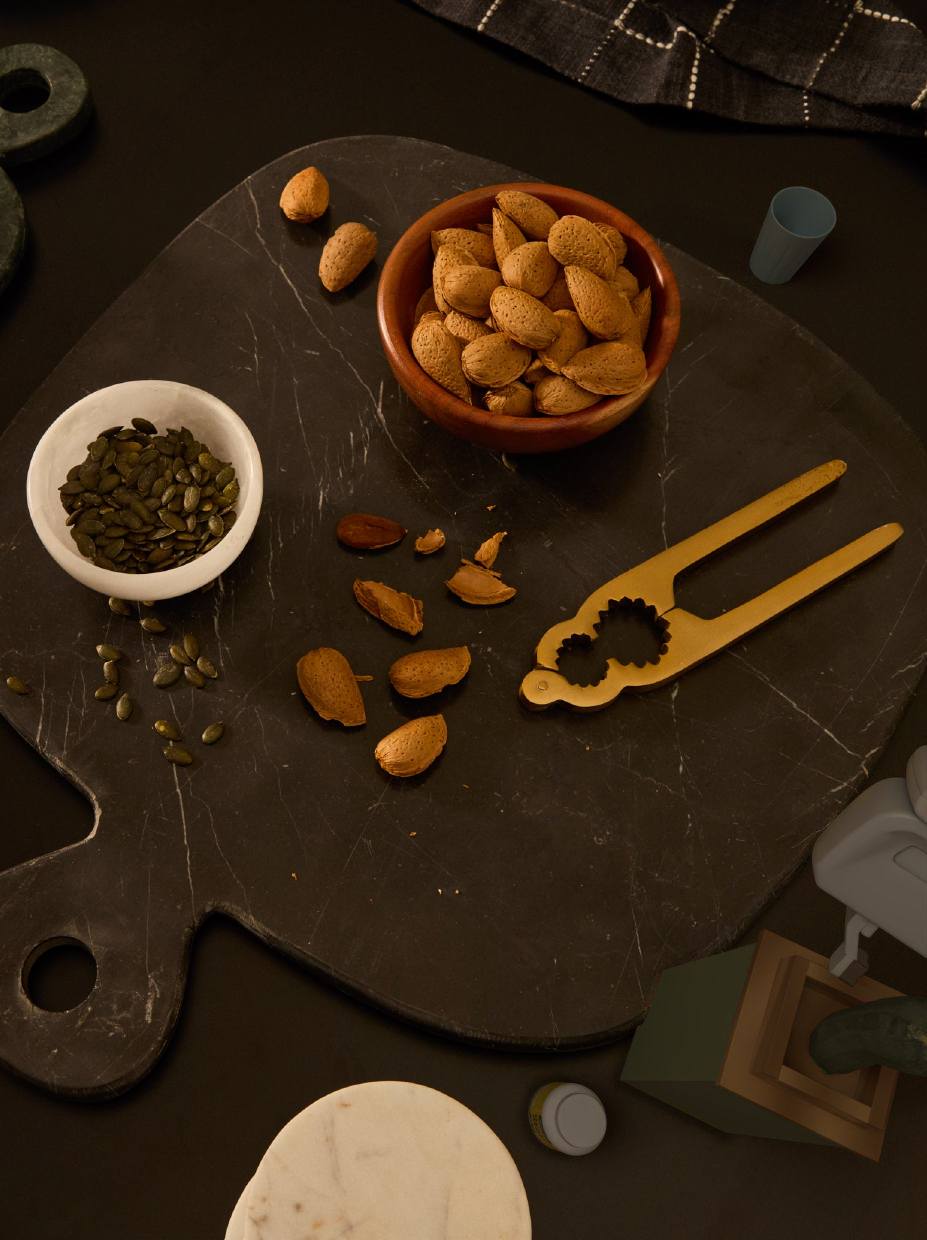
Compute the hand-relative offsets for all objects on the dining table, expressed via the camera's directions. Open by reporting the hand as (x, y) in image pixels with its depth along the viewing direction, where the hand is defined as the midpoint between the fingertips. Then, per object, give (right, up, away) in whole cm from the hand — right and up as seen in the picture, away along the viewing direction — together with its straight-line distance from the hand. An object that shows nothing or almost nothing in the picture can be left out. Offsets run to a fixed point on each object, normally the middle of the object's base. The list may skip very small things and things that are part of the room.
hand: (912, 1023), depth 68 cm
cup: (+19, +61, +76) cm, 100 cm away
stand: (-3, -18, +37) cm, 41 cm away
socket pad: (-1, -6, +12) cm, 13 cm away
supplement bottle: (-15, -23, +34) cm, 44 cm away
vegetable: (-1, -6, +11) cm, 13 cm away
